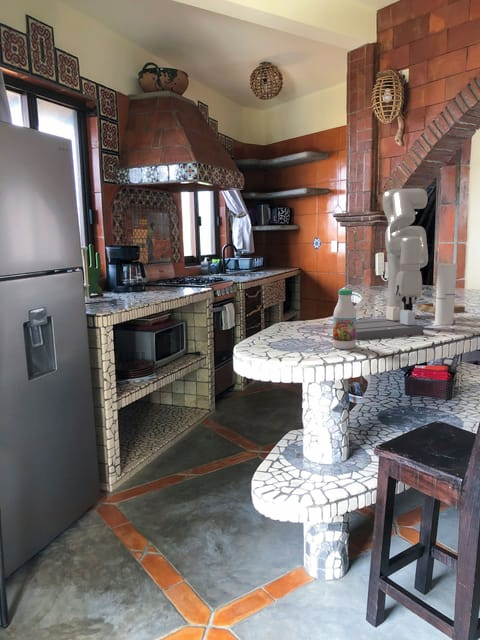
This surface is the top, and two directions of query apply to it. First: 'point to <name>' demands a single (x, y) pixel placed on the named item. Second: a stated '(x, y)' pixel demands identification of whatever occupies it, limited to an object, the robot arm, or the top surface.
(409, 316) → the grey fader
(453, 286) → the cylindrical container
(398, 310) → the cream fader
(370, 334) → the fader console
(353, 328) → the milk bottle
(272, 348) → the top surface
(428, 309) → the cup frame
